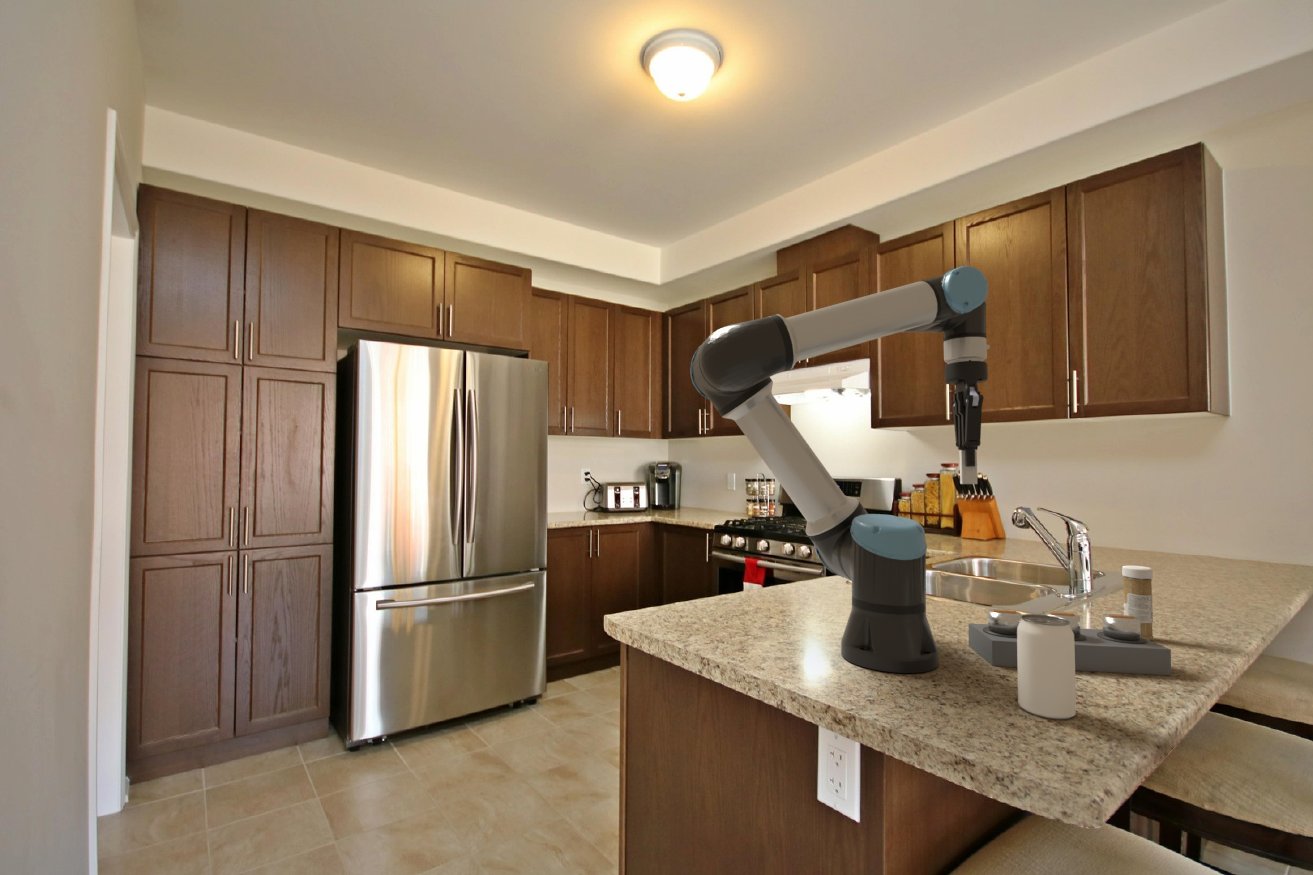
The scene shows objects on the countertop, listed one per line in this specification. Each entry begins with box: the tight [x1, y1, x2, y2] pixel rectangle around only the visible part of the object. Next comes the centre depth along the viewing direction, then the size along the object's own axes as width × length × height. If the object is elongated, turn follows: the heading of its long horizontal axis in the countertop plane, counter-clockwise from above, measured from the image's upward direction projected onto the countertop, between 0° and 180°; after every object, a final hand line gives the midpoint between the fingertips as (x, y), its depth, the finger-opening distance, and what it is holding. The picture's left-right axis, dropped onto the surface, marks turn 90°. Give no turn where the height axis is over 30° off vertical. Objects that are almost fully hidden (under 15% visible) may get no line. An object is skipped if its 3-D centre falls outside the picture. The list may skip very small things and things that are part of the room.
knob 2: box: [1102, 613, 1141, 640], centre depth 102 cm, size 5×5×3 cm
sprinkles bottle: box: [1121, 564, 1154, 641], centre depth 117 cm, size 5×5×14 cm
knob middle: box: [1044, 610, 1081, 637], centre depth 104 cm, size 5×5×3 cm
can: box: [1016, 613, 1077, 721], centre depth 82 cm, size 6×6×12 cm
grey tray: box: [968, 622, 1172, 676], centre depth 104 cm, size 26×11×4 cm, turn 81°
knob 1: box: [987, 608, 1023, 634], centre depth 105 cm, size 5×5×3 cm
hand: (968, 483), depth 119 cm, fingers closed
